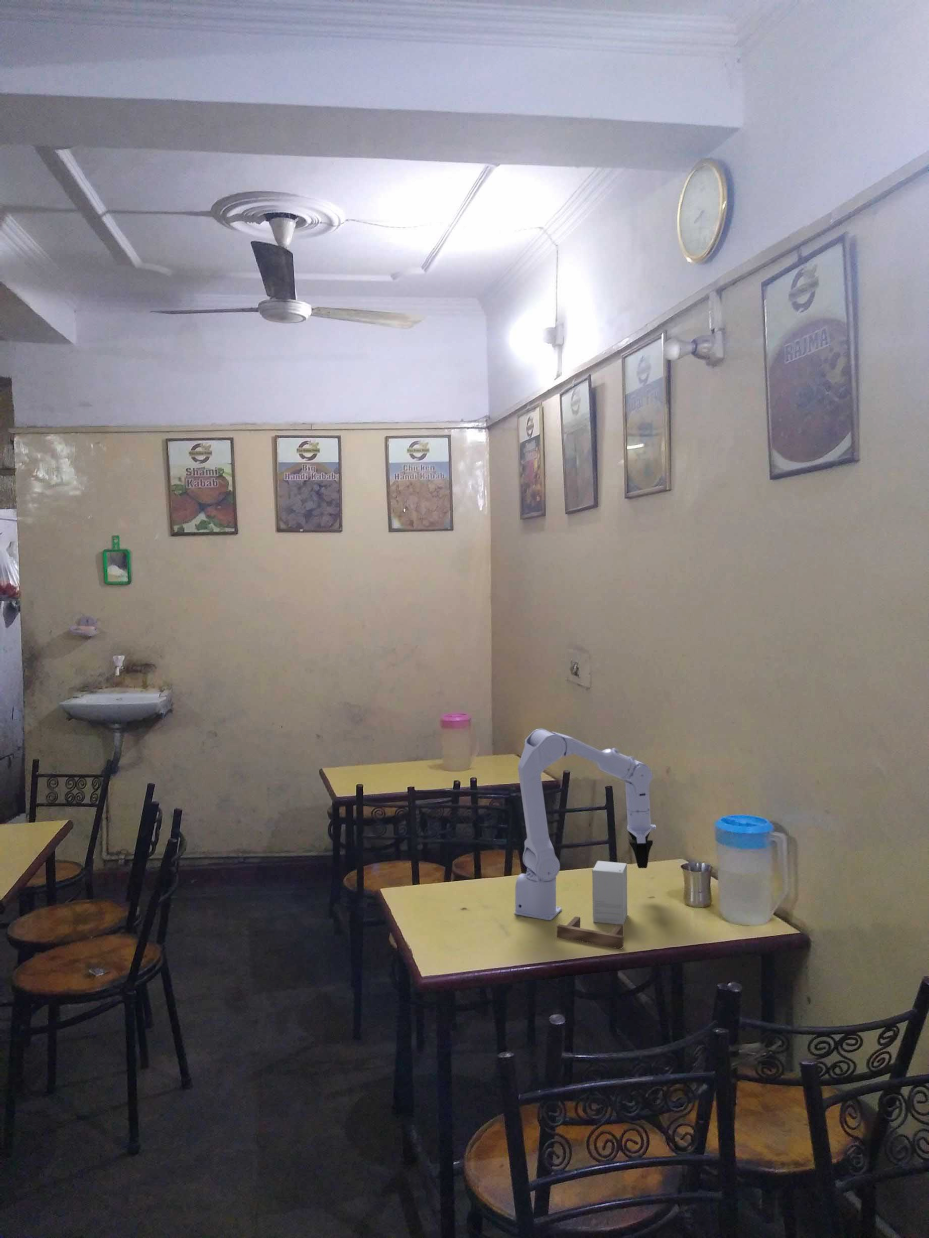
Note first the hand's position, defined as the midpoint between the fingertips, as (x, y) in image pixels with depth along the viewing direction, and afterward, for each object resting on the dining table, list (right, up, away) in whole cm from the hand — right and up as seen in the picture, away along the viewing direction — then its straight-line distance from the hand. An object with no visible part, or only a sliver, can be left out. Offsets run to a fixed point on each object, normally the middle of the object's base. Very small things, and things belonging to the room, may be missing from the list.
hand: (641, 862), depth 223 cm
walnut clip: (-15, -11, -21) cm, 28 cm away
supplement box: (-10, -11, -11) cm, 18 cm away
